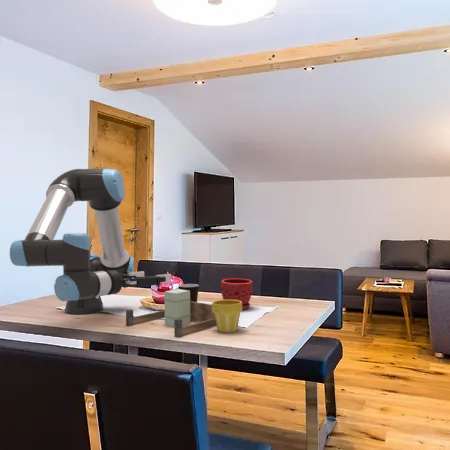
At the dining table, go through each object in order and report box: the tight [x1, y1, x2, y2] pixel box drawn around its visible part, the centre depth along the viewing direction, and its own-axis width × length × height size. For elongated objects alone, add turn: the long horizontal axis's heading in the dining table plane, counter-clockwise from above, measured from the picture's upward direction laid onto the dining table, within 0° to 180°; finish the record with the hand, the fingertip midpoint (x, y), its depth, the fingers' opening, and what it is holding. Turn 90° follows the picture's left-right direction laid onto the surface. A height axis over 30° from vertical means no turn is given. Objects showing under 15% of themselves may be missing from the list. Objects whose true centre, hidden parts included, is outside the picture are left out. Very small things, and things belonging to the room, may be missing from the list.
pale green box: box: [163, 288, 191, 328], centre depth 167 cm, size 6×7×12 cm
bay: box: [125, 301, 217, 338], centre depth 165 cm, size 27×21×7 cm
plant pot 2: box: [211, 299, 243, 333], centre depth 157 cm, size 10×10×10 cm
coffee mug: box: [177, 283, 200, 302], centre depth 194 cm, size 12×9×10 cm
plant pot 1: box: [220, 277, 253, 311], centre depth 194 cm, size 13×13×12 cm
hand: (156, 276), depth 158 cm, fingers open, 13 cm apart
